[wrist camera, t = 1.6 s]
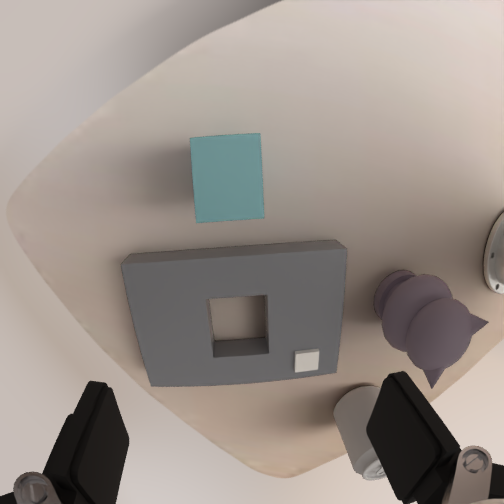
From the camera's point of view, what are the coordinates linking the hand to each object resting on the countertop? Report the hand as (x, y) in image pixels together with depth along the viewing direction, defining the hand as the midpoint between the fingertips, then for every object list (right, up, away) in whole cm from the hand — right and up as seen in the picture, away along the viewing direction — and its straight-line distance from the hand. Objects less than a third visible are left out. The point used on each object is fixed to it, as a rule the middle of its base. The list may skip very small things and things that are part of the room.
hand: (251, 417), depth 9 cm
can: (+14, -15, +28) cm, 35 cm away
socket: (-1, -1, +22) cm, 22 cm away
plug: (-2, +13, +18) cm, 22 cm away
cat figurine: (+16, +1, +23) cm, 28 cm away
